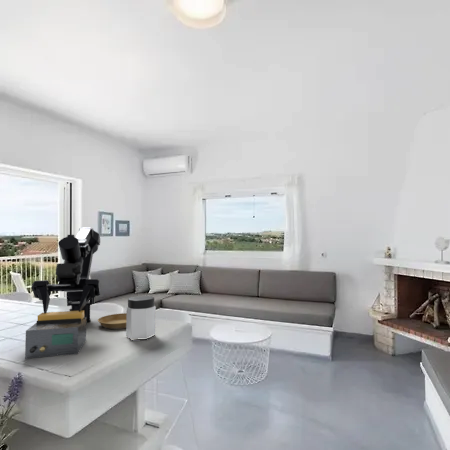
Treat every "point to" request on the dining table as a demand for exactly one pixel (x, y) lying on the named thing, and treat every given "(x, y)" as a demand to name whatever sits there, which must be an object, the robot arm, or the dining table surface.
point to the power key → (61, 315)
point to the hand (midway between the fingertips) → (62, 311)
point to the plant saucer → (113, 321)
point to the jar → (140, 317)
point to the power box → (55, 337)
